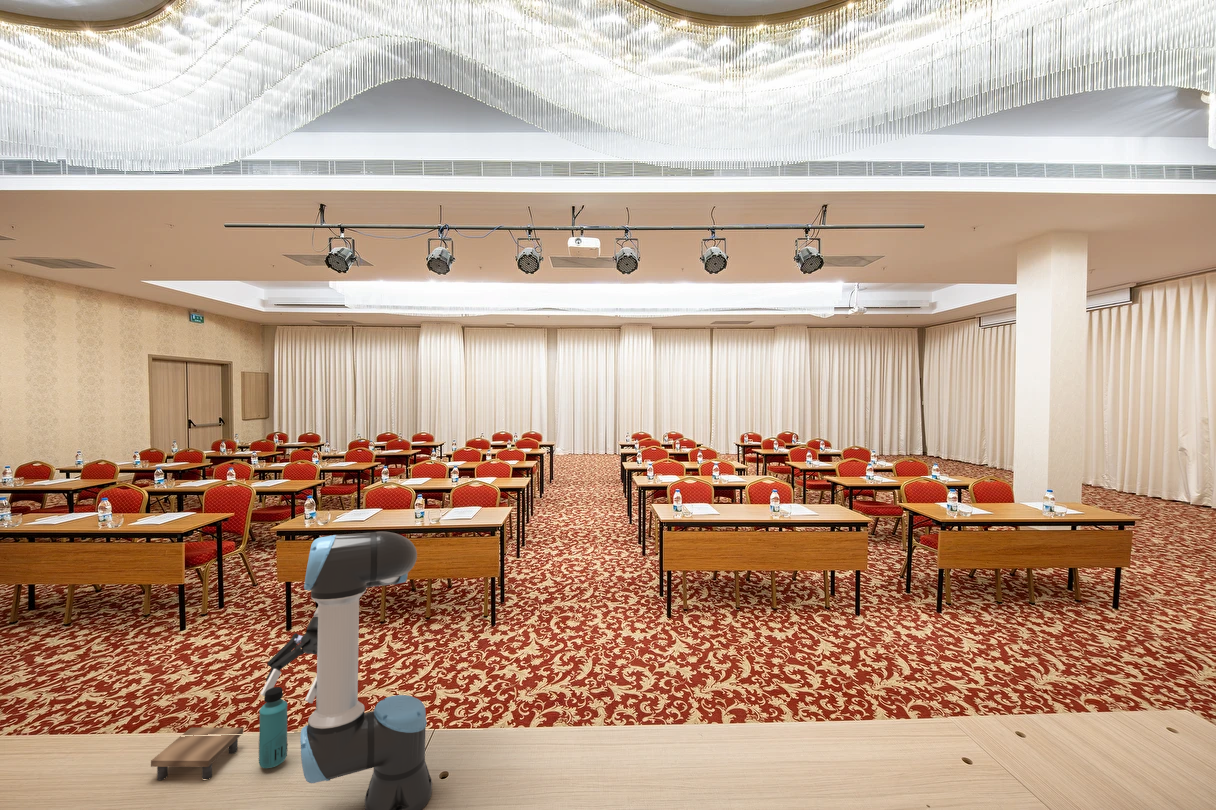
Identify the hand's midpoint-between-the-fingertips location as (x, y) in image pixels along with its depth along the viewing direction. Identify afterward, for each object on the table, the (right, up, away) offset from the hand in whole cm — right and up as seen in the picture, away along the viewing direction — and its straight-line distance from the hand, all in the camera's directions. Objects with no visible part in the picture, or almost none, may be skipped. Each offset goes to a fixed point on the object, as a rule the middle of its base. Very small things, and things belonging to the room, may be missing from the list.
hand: (286, 698), depth 142 cm
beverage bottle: (0, -15, -5) cm, 16 cm away
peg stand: (-20, -14, -5) cm, 25 cm away
